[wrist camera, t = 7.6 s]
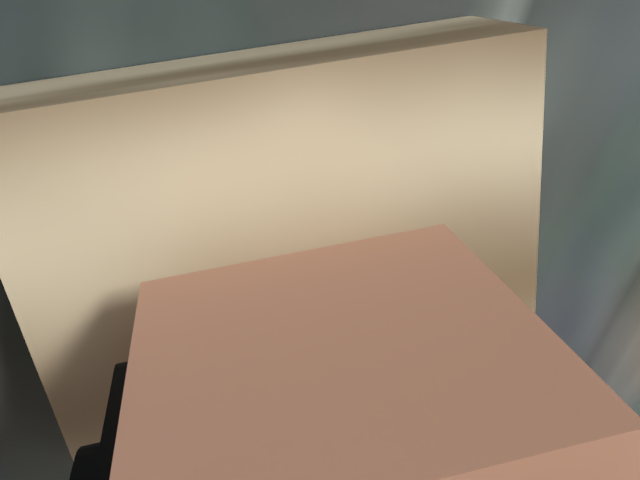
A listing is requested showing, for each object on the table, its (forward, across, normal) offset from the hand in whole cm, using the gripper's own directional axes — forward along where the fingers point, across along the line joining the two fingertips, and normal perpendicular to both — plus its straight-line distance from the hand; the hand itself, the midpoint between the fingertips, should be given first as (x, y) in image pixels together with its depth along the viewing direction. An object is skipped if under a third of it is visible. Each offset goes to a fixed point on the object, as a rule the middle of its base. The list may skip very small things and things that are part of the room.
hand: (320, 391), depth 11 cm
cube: (+1, 0, 0) cm, 1 cm away
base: (+6, 0, 0) cm, 6 cm away
